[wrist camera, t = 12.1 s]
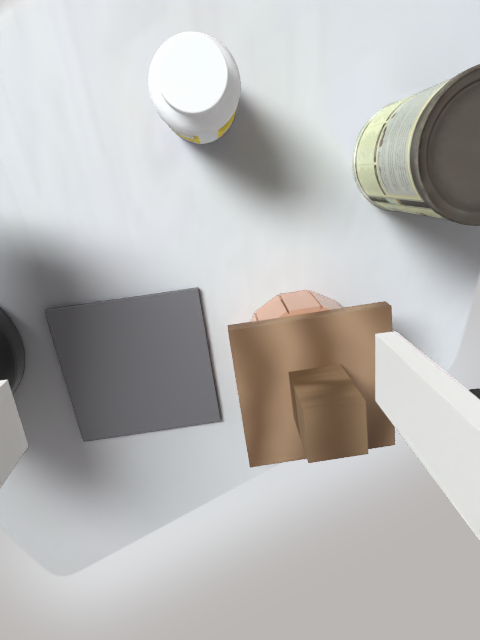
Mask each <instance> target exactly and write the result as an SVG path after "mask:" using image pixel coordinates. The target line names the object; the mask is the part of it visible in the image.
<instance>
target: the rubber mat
mask: <svg viewBox="0 0 480 640" xmlns="http://www.w3.org/2000/svg"><path fill="white" fill-rule="evenodd" d="M45 314H46V317H47V321H48V324H49V328H50V331H51V334H52V338H53V341H54V344H55V348H56V351H57V354H58V358H59V361H60V364H61V368H62V371H63V374H64V378H65V381H66V384H67V388H68V391H69V394H70V398H71V401H72V404H73V408H74V411H75V414H76V418H77V421H78V425H79V428H80V431H81V435H82V438H83V441H84V442H85V441H91V440H98V439H105V438H112V437H118V436H125V435H132V434H138V433H145V432H152V431H159V430H165V429H172V428H179V427H185V426H192V425H199V424H206V423H212V422H219V421H220V413H219V407H218V402H217V396H216V390H215V384H214V378H213V372H212V367H211V361H210V355H209V349H208V343H207V338H206V332H205V326H204V320H203V314H202V309H201V303H200V297H199V291H198V288H191V289H184V290H177V291H170V292H163V293H156V294H149V295H143V296H136V297H129V298H122V299H115V300H108V301H101V302H94V303H88V304H81V305H74V306H67V307H60V308H53V309H47V310H45Z"/></svg>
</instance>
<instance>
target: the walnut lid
mask: <svg viewBox="0 0 480 640" xmlns="http://www.w3.org/2000/svg"><path fill="white" fill-rule="evenodd" d="M386 332H392V309H391V305H389V304H388V303H387V302H378V303H372V304H365V305H358V306H352V307H345V308H339V309H332V310H326V311H319V312H312V313H306V314H299V315H293V316H286V317H280V318H273V319H266V320H260V321H253V322H247V323H240V324H234V325H228V333H229V339H230V345H231V351H232V358H233V364H234V370H235V377H236V383H237V389H238V395H239V402H240V408H241V414H242V420H243V427H244V433H245V439H246V445H247V452H248V458H249V464H250V467H256V466H262V465H269V464H275V463H282V462H288V461H294V460H300V459H307V460H308V463H312V462H318V461H325V460H331V459H338V458H344V457H350V456H357V455H363V454H368V449H372V448H378V447H384V446H391V445H395V429H394V428H395V427H394V425H393V424H392V423H391V421H390V420H389V418H388V417H387V416H386V414H385V413H384V412H383V410H382V409H381V408H380V406H379V405H378V404H377V402H376V401H375V334H378V333H386Z"/></svg>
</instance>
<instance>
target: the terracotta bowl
mask: <svg viewBox="0 0 480 640" xmlns="http://www.w3.org/2000/svg"><path fill="white" fill-rule="evenodd" d="M339 308H342V307H341V306H340V305H339V304H338V303H337V302H336V301H334V300H333V299H330V298H328V297H325V296H323V295H320V294H318V293H315V292H312V291H310V290H309V291H308V290H304V291H297V292H290V293H283V294H280V296H278V295H277V296H275V297H274V298H273V299H271V300H270V301H269V302H267V303H266V304H265V305H263V306H262V307H261V308H259V309H258V310H257V311H256V313H254V315H253V317H252V319H251V322H253V321H260V320H266V319H273V318H280V317H286V316H293V315H299V314H306V313H312V312H319V311H326V310H332V309H339Z"/></svg>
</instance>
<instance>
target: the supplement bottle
mask: <svg viewBox="0 0 480 640" xmlns="http://www.w3.org/2000/svg"><path fill="white" fill-rule="evenodd" d="M148 82H149V92H150V96H151V100H152V102H153V105H154V107H155V109H156V111H157V113H158V114H159V115H160V117H161V118H162V119H163V120H164V121H165V122H166V124H167V125H168V126H169V127H170V128H171V129H172V130H173V131H174V132H175V133H176V134H177V135H178V136H180V137H181V138H183V139H184V140H186V141H189V142H192V143H196V144H206V143H210V142H213V141H215V140H217V139H219V138H220V137H222V136H223V135H224V134H225V133H226V132H227V130H228V129H229V128H230V126H231V124H232V122H233V120H234V117H235V113H236V109H237V105H238V102H239V98H240V91H241V81H240V75H239V71H238V67H237V65H236V62H235V60H234V58H233V56H232V55H231V53H230V52H229V50H228V49H227V48H226V47H225V46H224V45H223V44H222V43H221V42H220V41H218V40H217V39H215V38H214V37H212V36H210V35H207V34H204V33H201V32H183V33H180V34H177V35H175V36H173V37H171V38H170V39H168V40H167V41H166V42H165V43H163V45H162V46H161V47H160V48H159V49H158V51H157V52H156V54H155V56H154V58H153V60H152V63H151V66H150V70H149V77H148Z"/></svg>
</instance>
